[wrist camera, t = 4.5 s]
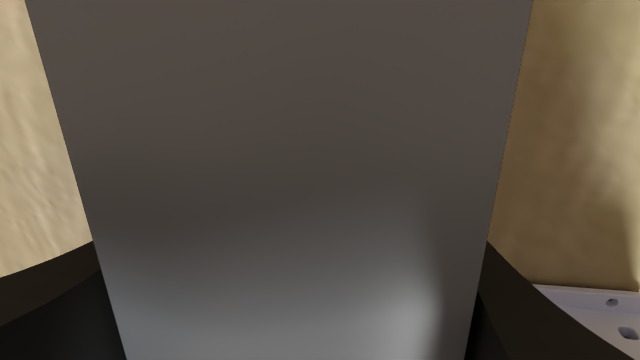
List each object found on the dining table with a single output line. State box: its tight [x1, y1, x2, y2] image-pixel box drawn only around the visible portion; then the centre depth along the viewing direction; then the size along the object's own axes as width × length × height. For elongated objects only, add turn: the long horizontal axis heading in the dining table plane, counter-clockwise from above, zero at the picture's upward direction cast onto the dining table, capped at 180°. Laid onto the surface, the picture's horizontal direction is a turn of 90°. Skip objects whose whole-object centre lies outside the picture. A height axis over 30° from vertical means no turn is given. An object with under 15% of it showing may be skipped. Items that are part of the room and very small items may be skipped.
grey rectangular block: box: [25, 0, 533, 360], centre depth 10 cm, size 6×12×6 cm, turn 0°
